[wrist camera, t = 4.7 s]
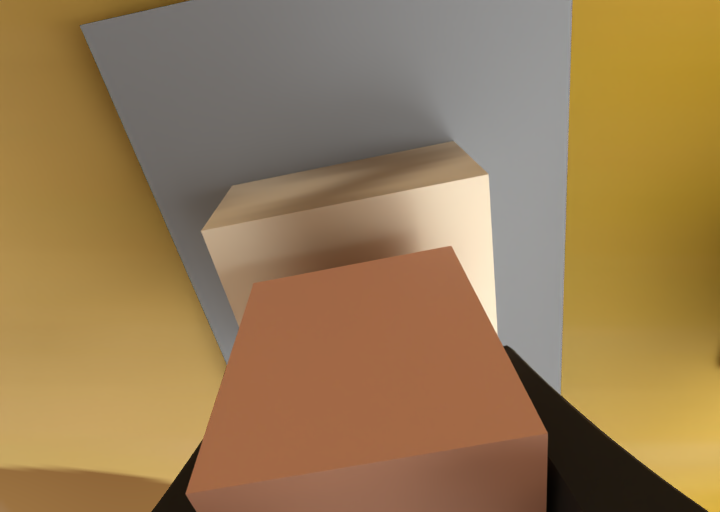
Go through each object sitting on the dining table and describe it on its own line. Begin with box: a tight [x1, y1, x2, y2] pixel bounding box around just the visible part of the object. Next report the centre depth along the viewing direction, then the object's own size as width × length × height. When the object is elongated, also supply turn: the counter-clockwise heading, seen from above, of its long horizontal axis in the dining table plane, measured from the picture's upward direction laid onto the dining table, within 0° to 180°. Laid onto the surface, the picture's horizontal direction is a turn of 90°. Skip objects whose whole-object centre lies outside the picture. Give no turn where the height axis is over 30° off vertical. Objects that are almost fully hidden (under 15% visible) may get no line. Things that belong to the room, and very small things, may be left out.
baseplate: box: [80, 0, 572, 395], centre depth 16 cm, size 13×19×2 cm
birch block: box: [201, 141, 498, 335], centre depth 14 cm, size 7×7×4 cm
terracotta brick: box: [186, 246, 548, 512], centre depth 9 cm, size 4×6×5 cm
